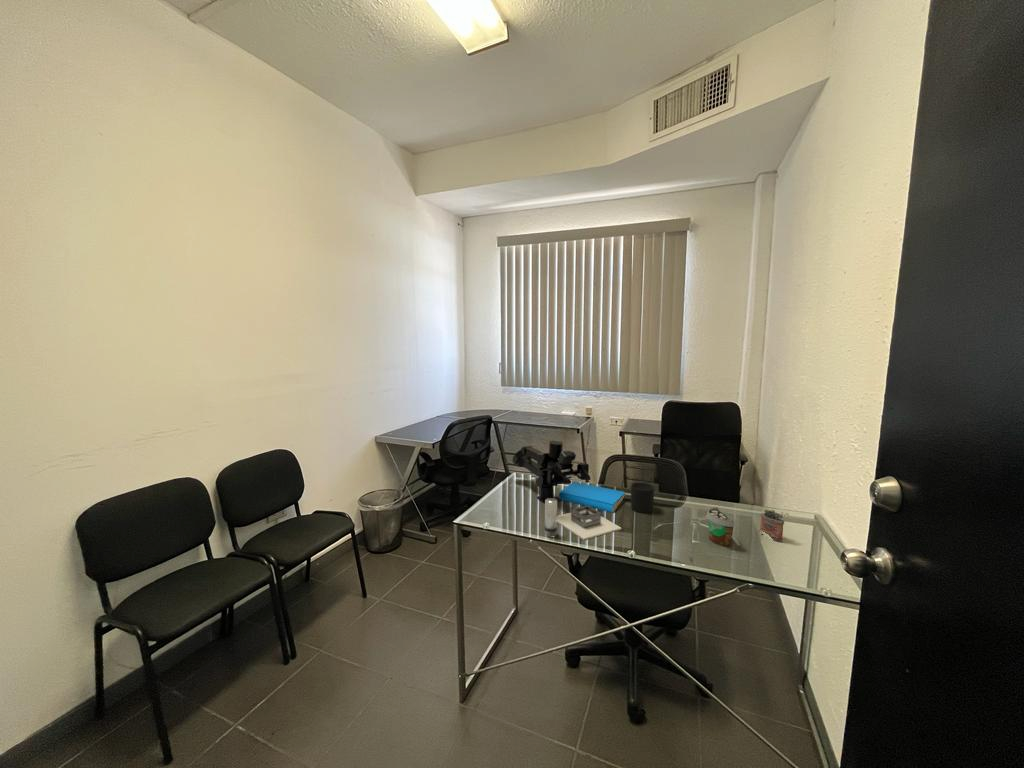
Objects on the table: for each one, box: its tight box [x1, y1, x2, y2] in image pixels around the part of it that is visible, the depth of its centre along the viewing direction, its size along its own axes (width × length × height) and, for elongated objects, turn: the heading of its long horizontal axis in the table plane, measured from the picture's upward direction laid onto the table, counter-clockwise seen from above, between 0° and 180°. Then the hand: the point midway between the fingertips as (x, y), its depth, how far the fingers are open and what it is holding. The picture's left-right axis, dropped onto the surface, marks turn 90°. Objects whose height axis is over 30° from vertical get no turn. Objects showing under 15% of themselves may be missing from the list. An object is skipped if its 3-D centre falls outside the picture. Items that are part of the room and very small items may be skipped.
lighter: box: [759, 508, 785, 543], centre depth 145 cm, size 8×3×10 cm, turn 23°
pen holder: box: [630, 482, 655, 514], centre depth 170 cm, size 9×9×10 cm
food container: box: [705, 506, 735, 548], centre depth 143 cm, size 12×6×10 cm, turn 178°
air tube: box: [544, 497, 558, 537], centre depth 146 cm, size 5×5×13 cm
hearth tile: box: [557, 510, 622, 541], centre depth 156 cm, size 20×18×1 cm
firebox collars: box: [570, 505, 602, 529], centre depth 156 cm, size 8×8×5 cm
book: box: [558, 481, 626, 513], centre depth 180 cm, size 17×4×25 cm
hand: (580, 480), depth 156 cm, fingers open, 9 cm apart
